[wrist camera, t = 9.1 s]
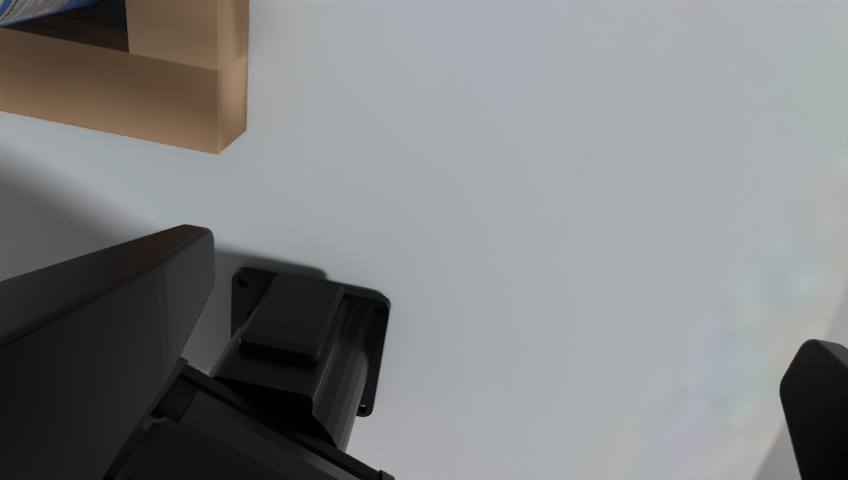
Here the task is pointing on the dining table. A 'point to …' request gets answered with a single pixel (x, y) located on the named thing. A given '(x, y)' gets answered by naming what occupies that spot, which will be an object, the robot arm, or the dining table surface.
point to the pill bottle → (35, 8)
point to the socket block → (135, 72)
